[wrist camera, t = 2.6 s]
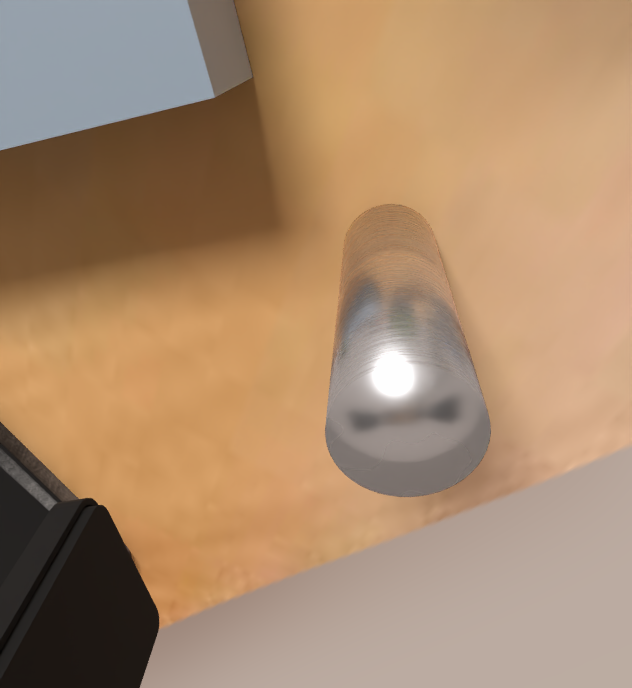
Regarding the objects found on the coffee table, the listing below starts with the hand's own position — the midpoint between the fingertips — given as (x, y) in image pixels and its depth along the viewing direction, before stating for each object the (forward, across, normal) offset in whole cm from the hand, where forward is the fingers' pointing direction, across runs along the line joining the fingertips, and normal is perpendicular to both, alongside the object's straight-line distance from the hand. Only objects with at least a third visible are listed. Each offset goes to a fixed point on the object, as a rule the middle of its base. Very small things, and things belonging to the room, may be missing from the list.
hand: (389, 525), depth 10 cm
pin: (+12, -1, -1) cm, 12 cm away
